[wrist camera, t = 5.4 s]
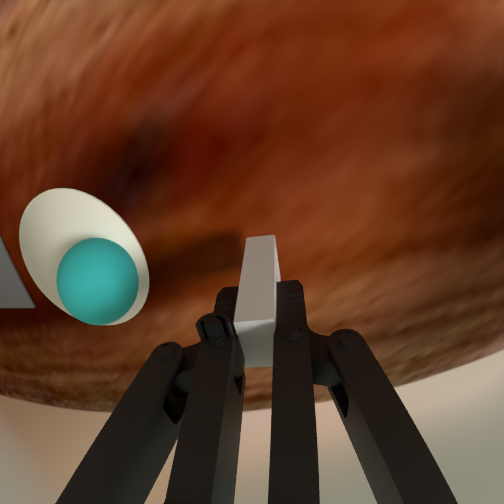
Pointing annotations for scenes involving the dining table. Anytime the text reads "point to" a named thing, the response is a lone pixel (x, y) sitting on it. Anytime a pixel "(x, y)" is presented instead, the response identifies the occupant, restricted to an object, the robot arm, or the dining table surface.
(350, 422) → the robot arm
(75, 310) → the ball
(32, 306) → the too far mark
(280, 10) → the dining table surface
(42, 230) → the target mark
